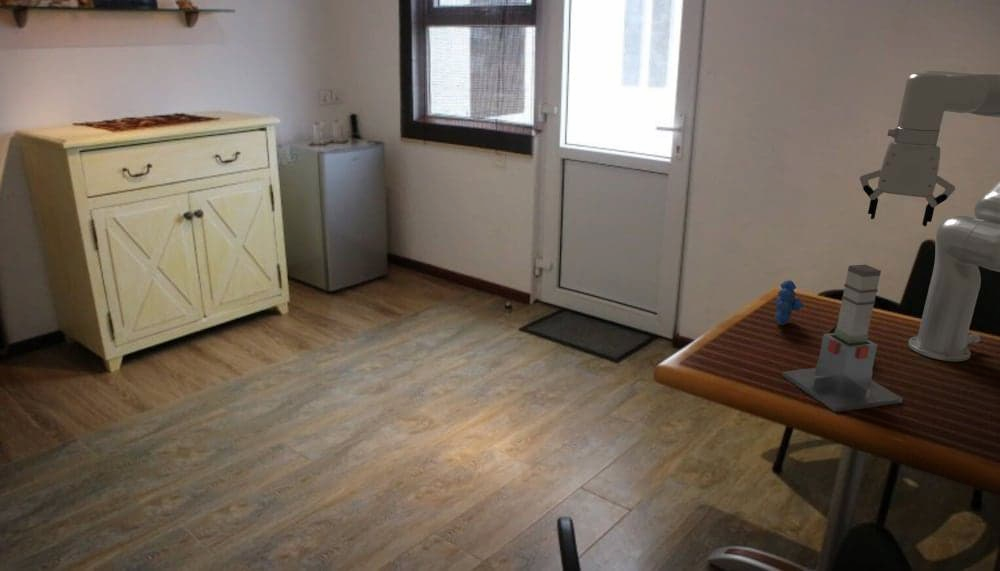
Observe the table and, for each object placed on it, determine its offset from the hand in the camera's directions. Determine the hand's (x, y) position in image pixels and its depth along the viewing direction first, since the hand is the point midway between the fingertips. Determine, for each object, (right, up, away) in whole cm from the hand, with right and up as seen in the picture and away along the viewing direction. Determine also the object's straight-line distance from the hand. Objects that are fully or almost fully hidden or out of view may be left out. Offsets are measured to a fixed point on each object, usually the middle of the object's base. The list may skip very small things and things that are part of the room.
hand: (898, 221), depth 155 cm
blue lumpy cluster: (-12, -23, +30) cm, 40 cm away
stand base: (-13, -34, -2) cm, 37 cm away
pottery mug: (-4, -29, +15) cm, 33 cm away
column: (-13, -28, -4) cm, 31 cm away
